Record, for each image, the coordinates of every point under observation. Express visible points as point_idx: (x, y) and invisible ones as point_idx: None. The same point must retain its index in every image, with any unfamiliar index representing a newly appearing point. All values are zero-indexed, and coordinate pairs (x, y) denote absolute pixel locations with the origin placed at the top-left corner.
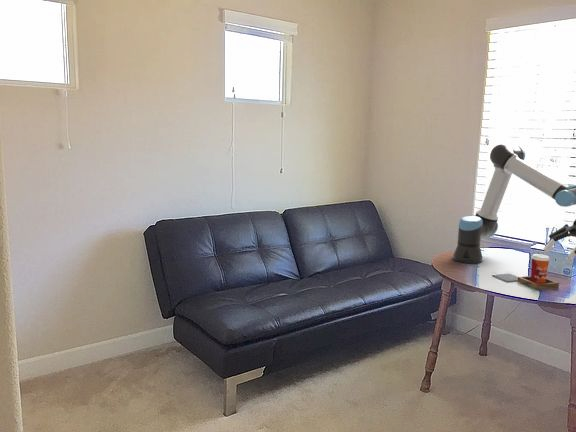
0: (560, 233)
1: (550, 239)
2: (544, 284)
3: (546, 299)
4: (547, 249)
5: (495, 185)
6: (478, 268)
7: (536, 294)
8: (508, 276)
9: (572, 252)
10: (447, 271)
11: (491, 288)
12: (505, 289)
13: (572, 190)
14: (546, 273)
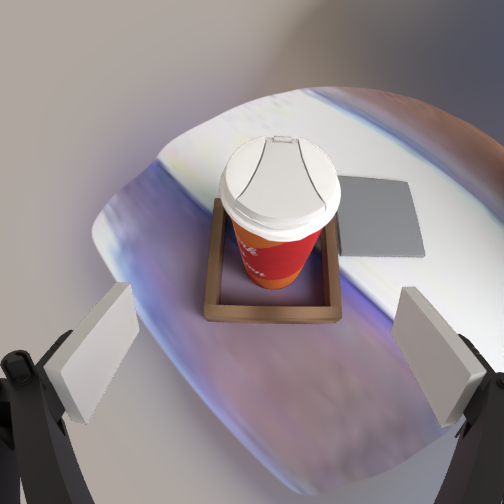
0: (501, 482)
1: (495, 375)
2: (211, 230)
3: (140, 176)
4: (404, 326)
5: None
6: (481, 207)
7: (186, 179)
8: (387, 220)
9: (93, 310)
10: (438, 115)
11: (282, 107)
12: (263, 130)
13: None
14: (240, 249)
